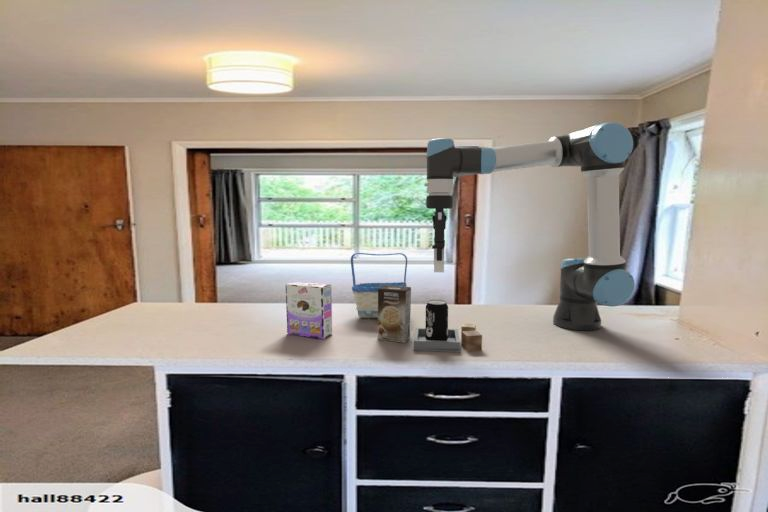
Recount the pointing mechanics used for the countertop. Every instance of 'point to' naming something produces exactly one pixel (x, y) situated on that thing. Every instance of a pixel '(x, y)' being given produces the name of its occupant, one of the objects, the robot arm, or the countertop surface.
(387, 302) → the coffee box
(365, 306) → the basket
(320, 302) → the candy box
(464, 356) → the countertop surface
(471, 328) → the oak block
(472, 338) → the walnut block
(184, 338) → the countertop surface
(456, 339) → the tray
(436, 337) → the beverage can
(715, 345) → the countertop surface
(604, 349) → the countertop surface
